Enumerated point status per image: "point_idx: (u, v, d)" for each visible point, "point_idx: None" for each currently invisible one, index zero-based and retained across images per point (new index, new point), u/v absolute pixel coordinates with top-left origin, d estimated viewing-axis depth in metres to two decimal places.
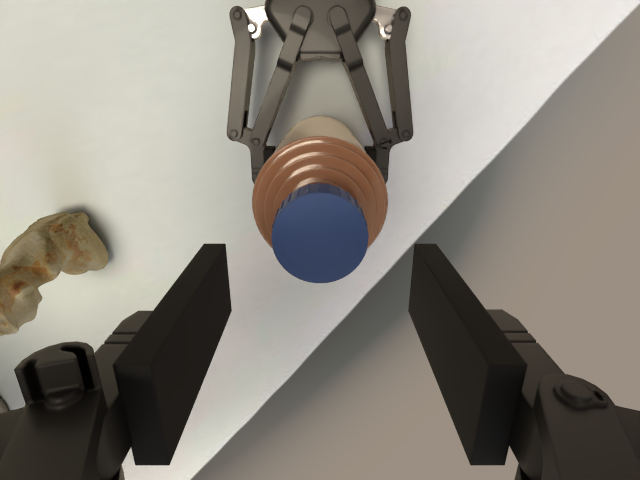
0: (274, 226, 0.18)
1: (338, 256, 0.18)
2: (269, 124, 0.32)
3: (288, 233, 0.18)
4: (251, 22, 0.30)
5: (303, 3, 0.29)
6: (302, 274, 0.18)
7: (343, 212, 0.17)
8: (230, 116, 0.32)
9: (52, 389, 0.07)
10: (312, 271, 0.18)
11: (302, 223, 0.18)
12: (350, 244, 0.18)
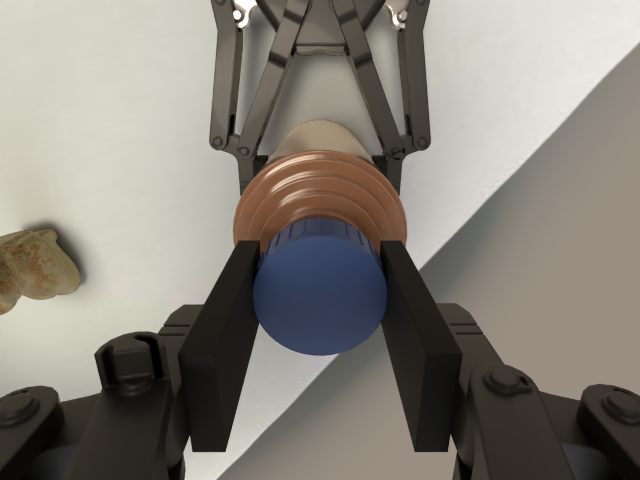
0: (256, 281, 0.13)
1: (345, 321, 0.13)
2: (260, 130, 0.27)
3: (275, 290, 0.13)
4: (237, 8, 0.25)
5: None
6: (295, 344, 0.13)
7: (353, 262, 0.12)
8: (213, 121, 0.27)
9: (126, 375, 0.07)
10: (309, 340, 0.13)
11: (295, 277, 0.12)
12: (362, 305, 0.13)
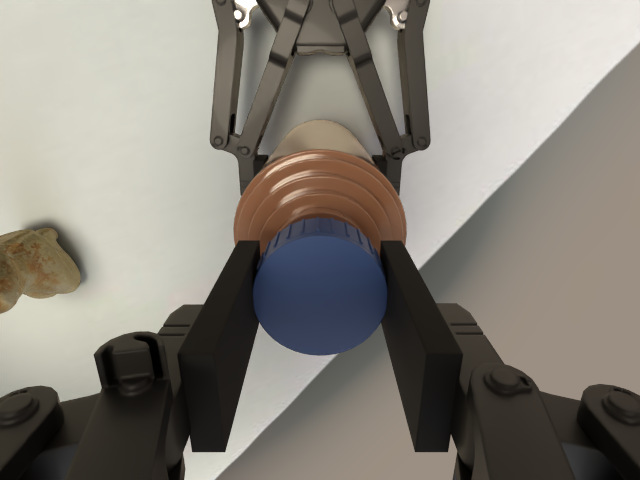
0: (329, 353, 0.14)
1: (331, 267, 0.12)
2: (260, 130, 0.27)
3: (330, 336, 0.13)
4: (238, 8, 0.25)
5: None
6: (379, 299, 0.13)
7: (269, 290, 0.13)
8: (214, 120, 0.27)
9: (126, 376, 0.07)
10: (369, 288, 0.13)
11: (309, 327, 0.13)
12: (306, 261, 0.12)
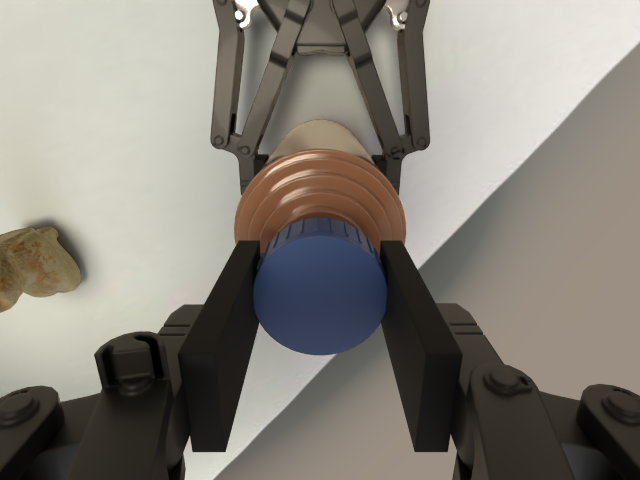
0: (375, 264, 0.12)
1: (284, 304, 0.13)
2: (260, 130, 0.27)
3: (355, 272, 0.12)
4: (239, 8, 0.25)
5: None
6: (291, 250, 0.12)
7: (332, 341, 0.13)
8: (214, 120, 0.27)
9: (126, 375, 0.07)
10: (286, 264, 0.12)
11: (354, 295, 0.13)
12: (289, 325, 0.13)
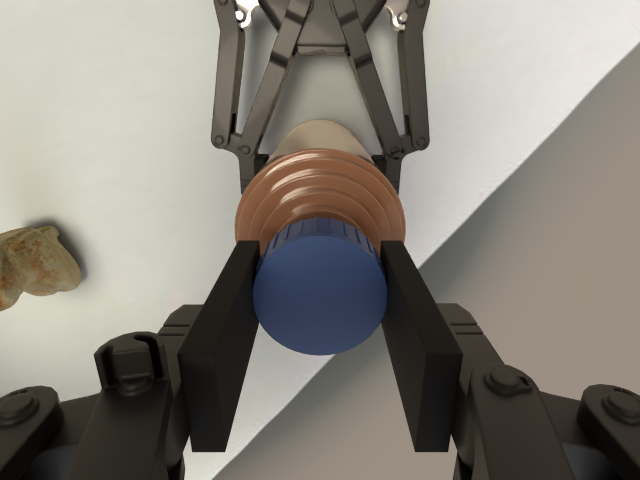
0: (260, 271, 0.12)
1: (340, 324, 0.13)
2: (261, 129, 0.27)
3: (278, 283, 0.13)
4: (239, 8, 0.25)
5: None
6: (286, 339, 0.13)
7: (360, 268, 0.12)
8: (215, 120, 0.27)
9: (126, 375, 0.07)
10: (301, 338, 0.13)
11: (300, 273, 0.12)
12: (360, 311, 0.13)
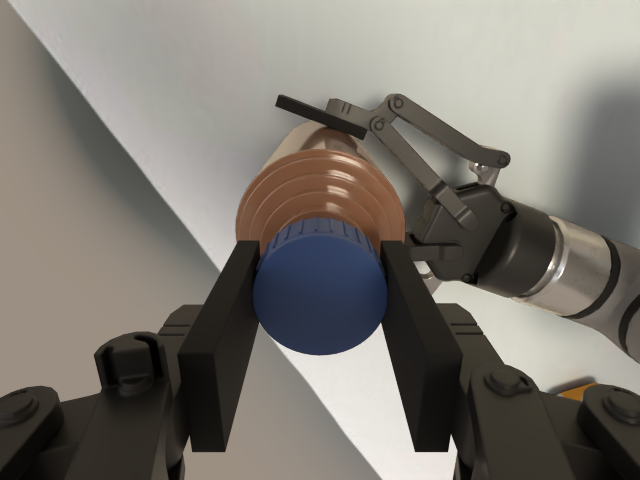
0: (260, 271, 0.12)
1: (340, 324, 0.13)
2: (390, 148, 0.28)
3: (278, 283, 0.13)
4: None
5: None
6: (286, 339, 0.13)
7: (360, 268, 0.12)
8: (417, 107, 0.27)
9: (126, 375, 0.07)
10: (301, 338, 0.13)
11: (300, 273, 0.12)
12: (360, 312, 0.13)
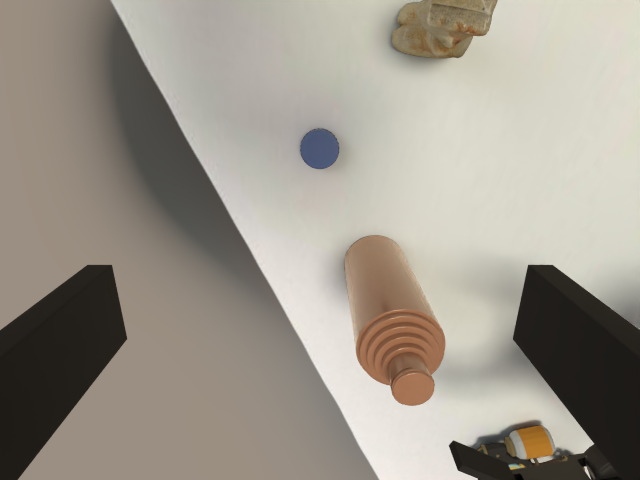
0: (303, 141, 0.45)
1: (325, 158, 0.46)
2: None
3: (308, 144, 0.45)
4: None
5: None
6: (310, 163, 0.46)
7: (330, 140, 0.45)
8: None
9: None
10: (314, 162, 0.46)
11: (314, 141, 0.45)
12: (331, 154, 0.46)
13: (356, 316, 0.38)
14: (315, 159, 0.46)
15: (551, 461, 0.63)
